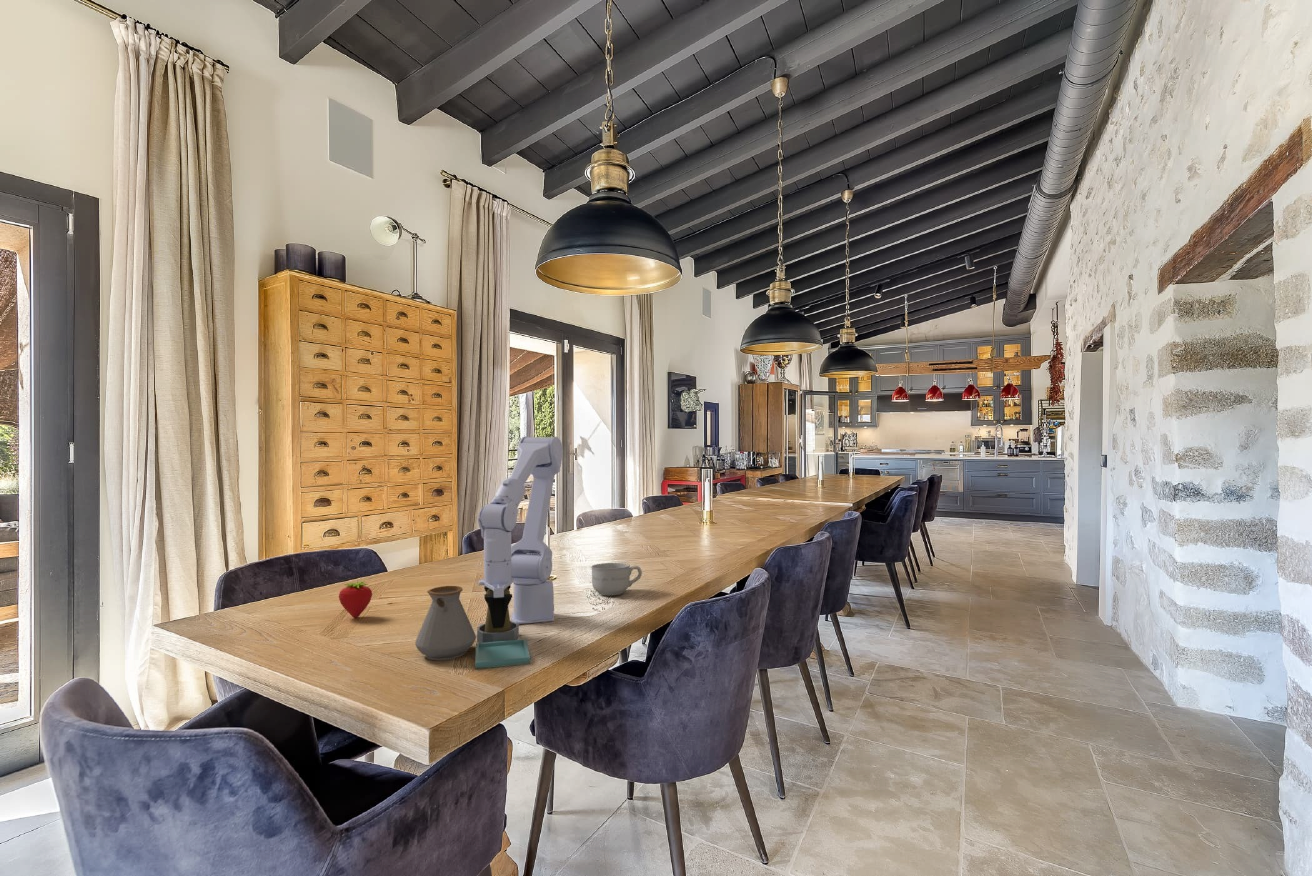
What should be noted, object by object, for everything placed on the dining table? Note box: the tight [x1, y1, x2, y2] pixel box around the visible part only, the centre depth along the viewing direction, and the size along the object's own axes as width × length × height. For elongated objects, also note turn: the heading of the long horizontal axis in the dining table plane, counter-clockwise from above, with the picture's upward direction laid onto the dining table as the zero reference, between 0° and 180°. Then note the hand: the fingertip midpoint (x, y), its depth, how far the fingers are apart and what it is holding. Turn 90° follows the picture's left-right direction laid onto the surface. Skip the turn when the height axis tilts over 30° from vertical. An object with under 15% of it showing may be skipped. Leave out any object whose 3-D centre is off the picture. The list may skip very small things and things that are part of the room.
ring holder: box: [476, 620, 520, 643], centre depth 130 cm, size 9×9×2 cm
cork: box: [484, 588, 511, 633], centre depth 130 cm, size 6×6×11 cm
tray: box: [474, 638, 531, 670], centre depth 119 cm, size 10×11×1 cm
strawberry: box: [338, 581, 373, 619], centre depth 145 cm, size 6×8×10 cm
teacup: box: [590, 562, 643, 596], centre depth 167 cm, size 14×11×8 cm
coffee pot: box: [415, 585, 477, 661], centre depth 116 cm, size 21×12×15 cm, turn 14°
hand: (497, 622), depth 130 cm, fingers open, 6 cm apart
